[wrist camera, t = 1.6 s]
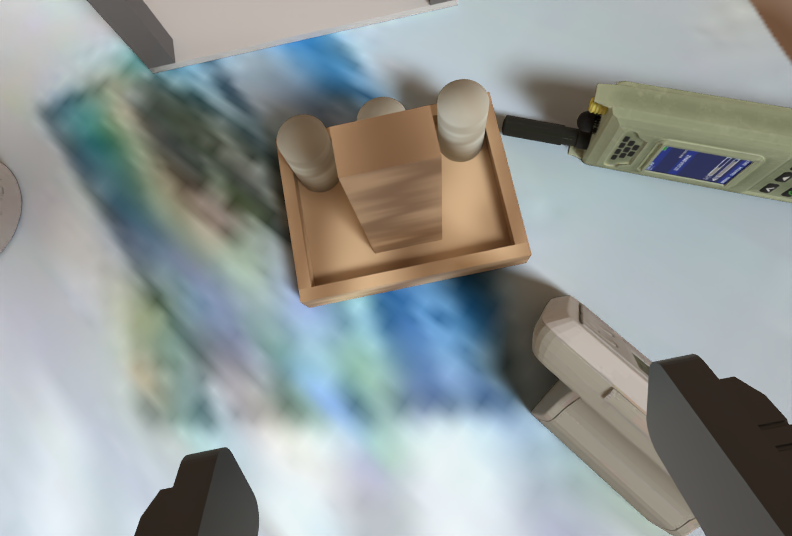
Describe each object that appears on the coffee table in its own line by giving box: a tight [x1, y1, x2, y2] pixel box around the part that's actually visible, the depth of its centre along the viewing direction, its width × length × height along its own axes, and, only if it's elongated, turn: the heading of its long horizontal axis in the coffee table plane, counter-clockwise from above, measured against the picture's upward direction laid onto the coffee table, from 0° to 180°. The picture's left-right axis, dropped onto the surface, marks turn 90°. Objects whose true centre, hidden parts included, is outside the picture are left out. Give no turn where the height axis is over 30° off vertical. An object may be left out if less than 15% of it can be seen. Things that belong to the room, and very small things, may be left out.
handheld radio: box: [502, 81, 792, 203], centre depth 33 cm, size 7×3×25 cm
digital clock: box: [531, 296, 700, 536], centre depth 28 cm, size 16×9×11 cm, turn 35°
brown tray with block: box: [276, 79, 531, 308], centre depth 31 cm, size 14×11×14 cm
